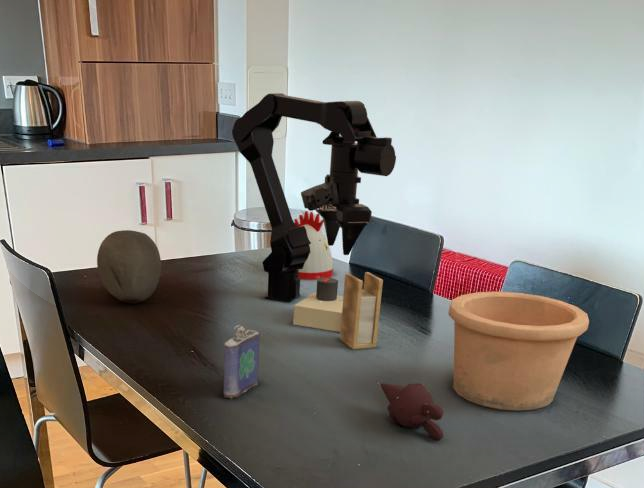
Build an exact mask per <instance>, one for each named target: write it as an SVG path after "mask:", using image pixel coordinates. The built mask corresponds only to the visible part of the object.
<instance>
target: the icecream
mask: <svg viewBox="0 0 644 488" xmlns="http://www.w3.org/2000/svg"><path fill="white" fill-rule="evenodd" d="M379 387H380V388H381V390H382V392H383V393H384V396H385V397H386V399H387V401H388V405H387V409H386V410H387V411H388V418H390V419H391V420H392V421H393V423H394V424H396V425H401V426H402V427H407V428H411V429H418V428H421V427H423V428H424V430H425V432H427V434H428V435H429V436H430V437H431V438H433V439H434V440H435V441H441V440H442V439H443V438H444V431H443V429H442V428H441V426H440V425H439V424H437V423H436V422H435V421H439V420H442V419H443V416H444V414H445V412H444V409H443V408H442V405H440V404H438V403H435V401H434V399H433V396H432V394H431V392H430V391H429V390H428V389H427V387H425V386H424V385H423V383H420V382H416V383H408V384H406V385H399V384H393V383H386V382H381V383H380V386H379ZM433 420H434V421H433Z"/></svg>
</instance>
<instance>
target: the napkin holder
mask: <svg viewBox="0 0 644 488" xmlns="http://www.w3.org/2000/svg"><path fill="white" fill-rule="evenodd" d="M383 283H384V280H383V279H382V278H380V277H379V276H377V275H374V274H373V273H371V272H368V271H366V272H364V281H363V280H362V279H360V278H358V277H356V276H354V275H353V274H351V273H349V272H348V273H347V272H346V273H344V284H343V295H342V296H343V308H342V321H341V332H339V334H340V335H339V341H341V342H342V343H344V344H345V345H346V346H348V347H349V348H350V349H352V350H361V349H371V348H377V342H378V331H379V322H380V312H381V305H382V293H383Z"/></svg>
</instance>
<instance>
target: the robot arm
mask: <svg viewBox="0 0 644 488" xmlns="http://www.w3.org/2000/svg"><path fill="white" fill-rule="evenodd" d="M282 118H289V119H294V120H300V121H305V122H311V123H315V124H317V125H320V126H321V127H322V129H324V130H327V131H329V132H330V133H329V134H328V136H326V137H325V138H324V139H323V140H322V145H327V146H331V147H330V148H331V149H330V164H329V165H330V166H329V174H328V173H327V174H326V176H324V182H323V183H320V184H316V185H314V186H311V187H309V188H307V189H305V190H303V191H301V192H300V196H301V200H302V203H303V207H304V209H306V210H307V211H310V212H313V211H315V212H316V214H319V217H321V219H322V220H323V221H324V222H323V225H324V229H325V231H324V232H325V235H326V236H325V237H326V240H327V242H328V245H329V247H331V246H332V247H333V246H334V245H335V242H336V240H337V237H338V235H339V232H340V228H341V240H342V254H343V256H349V255H350V254H351V252H352V250H353V248H354V246H355V244H356V242H357V240H358V239H359V237H360V235H361V234H362V232H363V230H364V229H365V227H366V226H368V224H369V223H370V222H372V214H373V212H372V210H371V209H370V207H369V206H367V205H364V204H363V203H360V198H357V191H358V190H357V189H358V184H361V183H362V177H361V176H359V173H361V174H365V175H373V176H381V177H388V176H390V175H391V174H392V172H393V171H394V169H395V166H396V162H397V155H396V149H395V147H394V146H393V144H392V142H393V138H392V137H388V136H387V137H386V136H385V137H378V136H377V134H376V132H375V130H374V128H373V126H372V123H371V121H370V119H369V117H368V111H367V108H366V106H365V104H364V102H362V101H360V100H341V101H340V100H338V101H319V100H314V99H309V98H302V97H298V96H297V97H296V96H291V95H286V94H284V93H281V92H278V93H277V92H275V93H267V94H266V95H264V96H263V97H262V98H261V100H260V101H259V102H257V104H255V105H254V106H252V107H251V108H250V109H248V110H247V111H245V113H244V114H243V115H242V116H241V117H238V118H237V119H236V120H235V122H234V123H233V127H232V129H231V135H232V140H233V141H234V143H235V146H236V148H237V149H238V151H239V153H240V154H241V156H242V157H244V158H245V160H246V161H247V162H248V163H249V164H250V166H251V170H252V173H253V176H254V179H255V181H256V185H257V189H258V191H259V194H260V197H261V200H262V203H263V206H264V209H265V213H266V215H267V218H268V221H269V223H270V224H269V225H270V227H271V232H270V241H269V244H270V251H271V252H270V253H269V254H268V255H267V256H266V257H265V258H264V259H263V260H262V269H263V271H264V272H266V273H267V276H268V277H267V294H265V295H264V299H267V300H273V301H280V302H286V303H291V302H293V301H294V300H296V299H298V298H299V297H300V296H301V279H300V278H299V277H298V274H299V270H298V269H303V266H304V264H305V261H306V260H307V259H308V257H309V254H310V246H309V244H311V242H310V241H309V239H308V236H307V232H306V228H305V226H300V227H298V226H297V225H296V224H295V221H294V220H293V217H292V214H291V211H290V208H289V205H288V202H287V198H286V195H285V192H284V190H283V186H282V183H281V179H280V176H279V173H278V171H277V169H276V168H277V167H276V165H275V161H274V159H273V150H274V136H273V133H274V132H275V131H276V129H278V127H279V126H280V123H281V121H282Z"/></svg>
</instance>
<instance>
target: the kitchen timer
mask: <svg viewBox="0 0 644 488" xmlns="http://www.w3.org/2000/svg"><path fill="white" fill-rule="evenodd" d="M308 211H309V210H305V211H304V216H303V214H299V215H298V218H299V220H298V219H297V218H294V220H293V222H294V223H295V224H296V225H297V226H298V227H300V226H305V228H306V232H307V236H308V239H309V241H310V242H311V244H309V246H310V254H309V257H308V259H307V260H306V261H305V264H304V266H303V269H298V270H299V274H298V277H299V278H300V280H317V279H319V278H331V277H332V276H333V274H334V262H333V261H334V260H333V257H332V251H331V248H330V247H331V246H329V245H328V241H327V237H326V236H325V234H323V232H322V230H321V229H322V227H323V225H324V221H323V219H322V220H320V215H319V214H318V213H316V215H315V218H314V212H313V211H310V212H308Z"/></svg>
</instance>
